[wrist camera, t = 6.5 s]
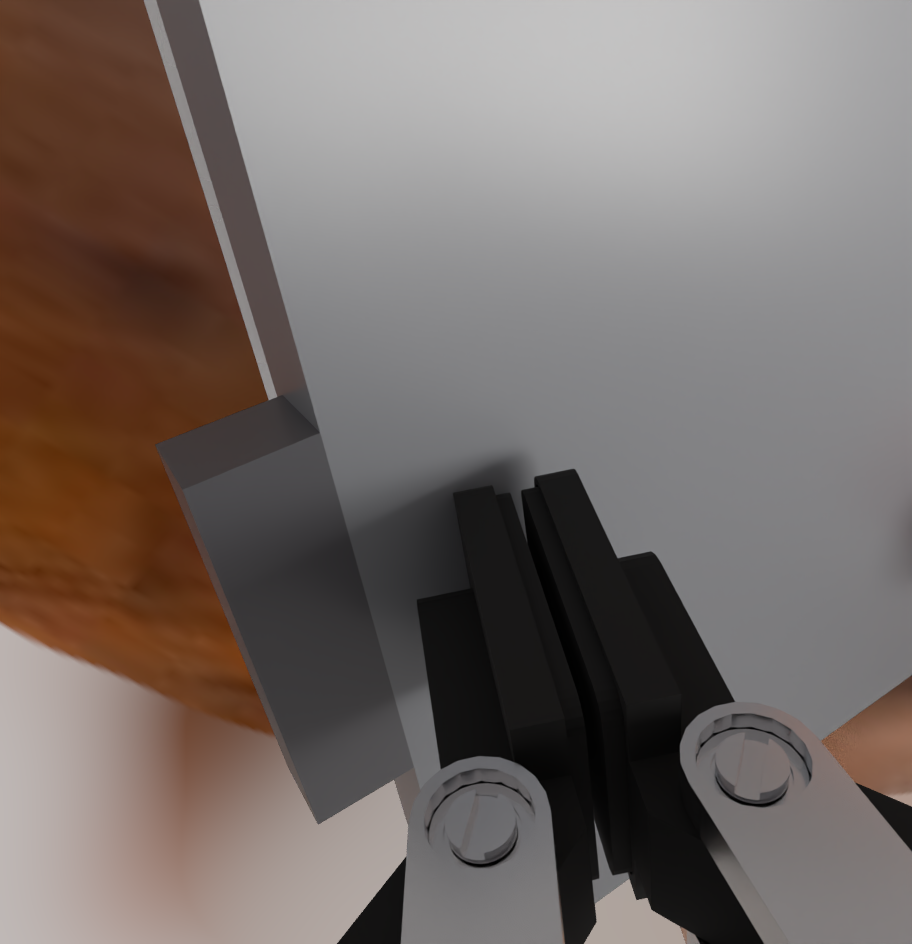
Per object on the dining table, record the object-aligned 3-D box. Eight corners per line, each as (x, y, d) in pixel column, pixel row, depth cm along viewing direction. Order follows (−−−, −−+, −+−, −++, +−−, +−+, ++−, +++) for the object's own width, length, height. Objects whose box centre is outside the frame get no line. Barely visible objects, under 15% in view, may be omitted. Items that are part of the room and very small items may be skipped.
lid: (1301, -433, 14) (1637, -535, 11) (1023, 530, 25) (1158, 593, 22) (-187, -378, 6) (-243, -661, 4) (372, 972, 17) (459, 1147, 15)
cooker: (943, -428, 21) (1361, -660, 12) (838, 428, 35) (1003, 588, 26) (134, -290, 20) (7, -438, 12) (356, 526, 34) (369, 723, 26)
